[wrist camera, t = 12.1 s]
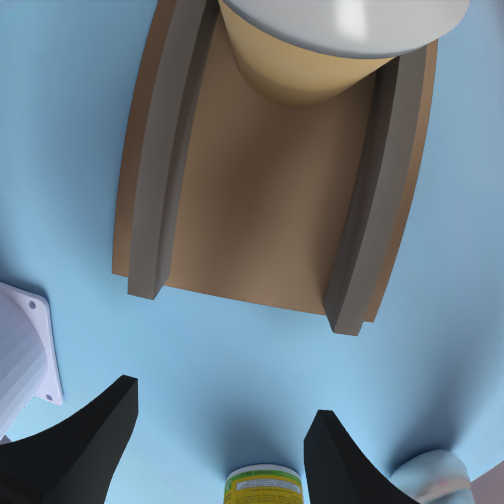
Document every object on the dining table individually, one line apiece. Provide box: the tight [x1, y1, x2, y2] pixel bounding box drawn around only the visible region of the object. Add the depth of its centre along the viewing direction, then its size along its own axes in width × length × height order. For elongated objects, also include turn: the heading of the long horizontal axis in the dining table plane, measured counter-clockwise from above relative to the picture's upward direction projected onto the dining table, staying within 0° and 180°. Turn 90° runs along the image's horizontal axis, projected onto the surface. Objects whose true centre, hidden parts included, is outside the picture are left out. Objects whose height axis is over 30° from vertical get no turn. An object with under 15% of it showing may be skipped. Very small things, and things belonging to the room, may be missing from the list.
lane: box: [112, 0, 438, 336], centre depth 10 cm, size 12×17×4 cm
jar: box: [218, 0, 470, 108], centre depth 7 cm, size 5×5×8 cm
